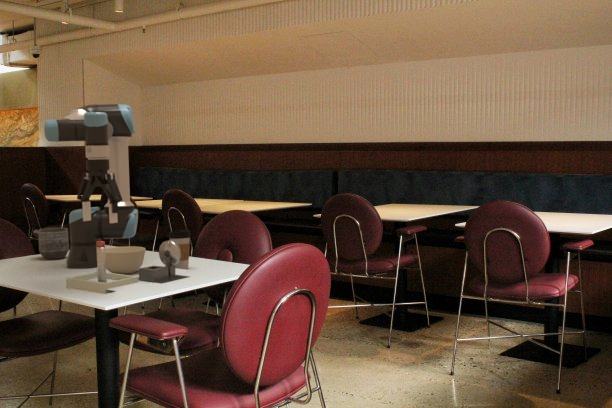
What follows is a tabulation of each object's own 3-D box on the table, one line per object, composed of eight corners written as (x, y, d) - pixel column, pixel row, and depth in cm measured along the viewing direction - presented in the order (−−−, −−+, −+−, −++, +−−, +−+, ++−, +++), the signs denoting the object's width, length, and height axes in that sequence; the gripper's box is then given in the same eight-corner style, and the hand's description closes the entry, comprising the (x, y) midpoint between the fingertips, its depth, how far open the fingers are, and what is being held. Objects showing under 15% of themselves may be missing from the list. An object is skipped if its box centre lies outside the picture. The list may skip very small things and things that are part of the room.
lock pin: (96, 284, 231) (94, 241, 230) (103, 283, 233) (101, 240, 232) (101, 285, 229) (99, 242, 228) (108, 284, 232) (106, 241, 230)
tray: (66, 287, 231) (66, 277, 231) (100, 280, 243) (99, 271, 242) (105, 293, 220) (105, 283, 220) (138, 286, 231) (138, 276, 231)
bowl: (142, 279, 243) (141, 252, 242) (96, 281, 242) (95, 253, 241) (149, 271, 259) (148, 245, 258) (106, 273, 258) (105, 247, 257)
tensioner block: (129, 283, 237) (127, 243, 236) (159, 276, 249) (157, 238, 247) (161, 287, 228) (160, 246, 227) (191, 280, 240) (189, 241, 238)
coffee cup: (186, 271, 260) (185, 231, 258) (166, 270, 261) (164, 231, 260) (194, 267, 268) (193, 229, 267) (174, 266, 269) (173, 229, 268)
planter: (33, 259, 293) (31, 230, 292) (53, 255, 304) (52, 227, 303) (55, 261, 288) (53, 231, 287) (75, 256, 299) (74, 228, 298)
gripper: (64, 158, 232) (67, 220, 234) (113, 159, 218) (116, 225, 220) (82, 158, 238) (85, 218, 240) (131, 158, 224) (134, 222, 226)
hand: (100, 221), depth 230 cm, fingers open, 13 cm apart
